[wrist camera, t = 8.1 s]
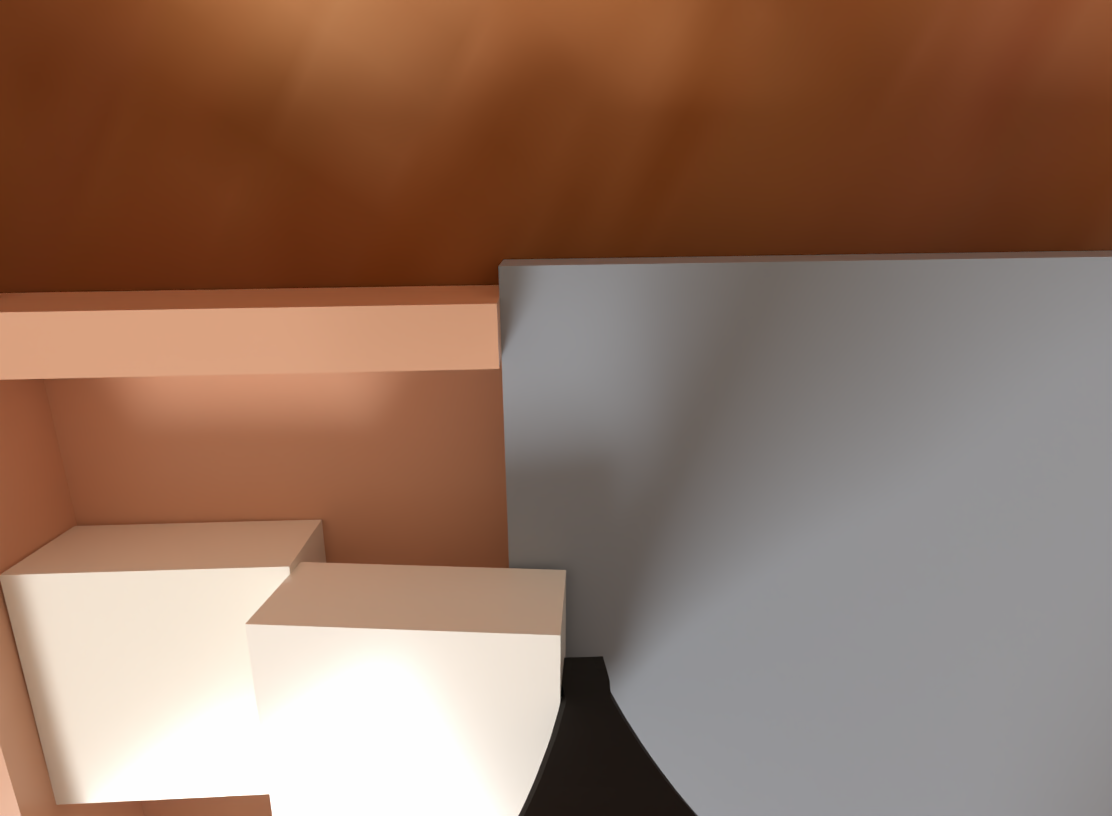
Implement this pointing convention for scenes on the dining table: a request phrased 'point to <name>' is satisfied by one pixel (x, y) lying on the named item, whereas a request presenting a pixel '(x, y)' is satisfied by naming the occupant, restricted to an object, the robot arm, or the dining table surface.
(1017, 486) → the board
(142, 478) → the tray
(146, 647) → the tile
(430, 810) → the tile
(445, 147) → the dining table surface
